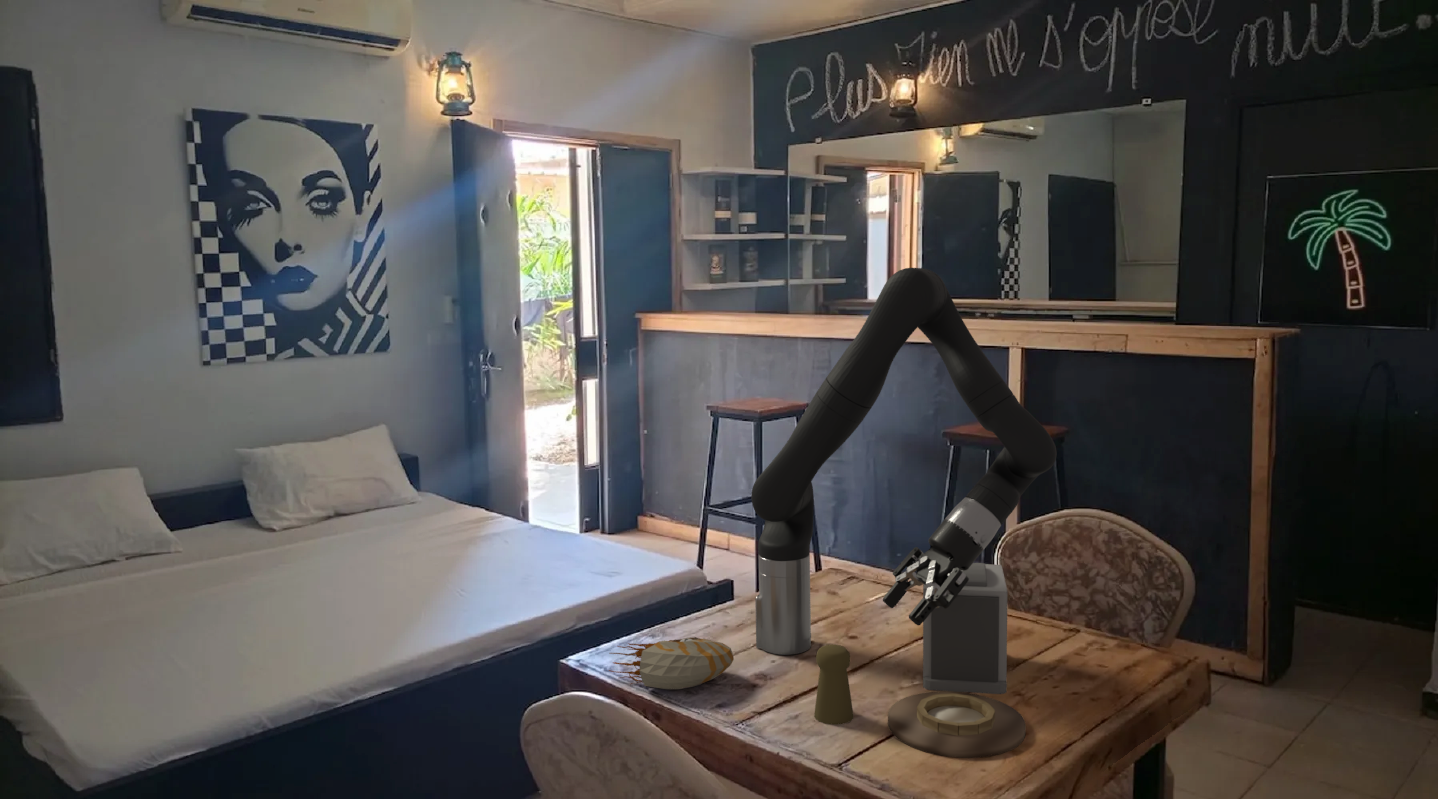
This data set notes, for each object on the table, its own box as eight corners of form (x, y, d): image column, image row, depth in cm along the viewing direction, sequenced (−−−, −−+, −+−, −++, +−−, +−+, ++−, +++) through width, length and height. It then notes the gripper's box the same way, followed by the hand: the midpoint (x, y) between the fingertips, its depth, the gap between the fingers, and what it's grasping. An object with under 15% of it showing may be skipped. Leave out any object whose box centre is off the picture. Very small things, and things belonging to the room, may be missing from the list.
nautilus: (592, 694, 171) (634, 665, 185) (711, 704, 162) (746, 673, 176) (589, 646, 170) (631, 622, 184) (708, 654, 162) (743, 628, 176)
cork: (857, 710, 161) (856, 642, 159) (849, 726, 155) (848, 656, 154) (819, 705, 163) (818, 638, 161) (809, 722, 157) (808, 652, 156)
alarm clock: (1007, 694, 165) (1008, 583, 163) (923, 689, 168) (923, 580, 166) (999, 652, 183) (1000, 551, 181) (923, 648, 186) (923, 549, 184)
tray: (872, 744, 149) (872, 726, 149) (905, 691, 168) (905, 675, 167) (1015, 767, 141) (1015, 749, 141) (1033, 709, 159) (1033, 692, 159)
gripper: (927, 508, 168) (863, 585, 166) (975, 529, 155) (906, 612, 153) (955, 537, 170) (893, 613, 168) (1005, 559, 157) (938, 642, 155)
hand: (899, 613), depth 161 cm, fingers open, 8 cm apart
